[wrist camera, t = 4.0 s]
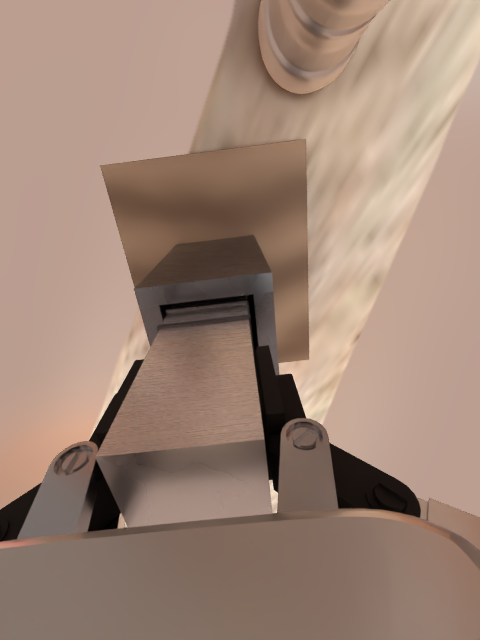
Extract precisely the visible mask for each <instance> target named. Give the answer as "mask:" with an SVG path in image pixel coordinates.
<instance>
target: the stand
mask: <svg viewBox="0 0 480 640" xmlns="http://www.w3.org/2000/svg"><path fill="white" fill-rule="evenodd" d="M100 167H101V170H102V173H103V177H104V181H105V184H106V188H107V192H108V195H109V198H110V202H111V205H112V209H113V213H114V216H115V220H116V223H117V227H118V230H119V234H120V237H121V241H122V244H123V248H124V251H125V255H126V259H127V262H128V265H129V269H130V273H131V276H132V280H133V283H134V287H135V288H134V291H135V294H136V298H137V301H138V305H139V308H140V312H141V315H142V319H143V322H144V326H145V329H146V333H147V336H148V340H149V343H150V347H151V345H152V343H153V341H154V339H155V337H156V335H157V333H158V331H157V326H158V325H162V323H163V321H164V319H165V317H166V315H167V313H166V309H167V308H170V307H171V306H172V304H174V303H183V302H191V301H200V300H208V299H217V298H225V297H234V296H242V295H247V299H248V304H249V313H250V316H251V325H252V334H253V343H254V350H256V347H257V346H266V345H269V348H270V353H271V357H272V361H273V365H274V370H275V374H276V375H279V366H278V363H282V362H291V361H300V360H308V359H309V315H308V247H307V180H306V139H302V140H294V141H286V142H279V143H271V144H263V145H255V146H248V147H240V148H232V149H225V150H217V151H209V152H201V153H194V154H186V155H179V156H171V157H163V158H156V159H147V160H140V161H132V162H124V163H117V164H109V165H101V166H100Z"/></svg>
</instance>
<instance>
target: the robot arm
mask: <svg viewBox="0 0 480 640" xmlns="http://www.w3.org/2000/svg"><path fill="white" fill-rule="evenodd" d="M253 356H254V364H255V372H256V379H257V387H258V394H259V402H260V409H261V417H262V425H263V432H264V440H265V449H266V458H267V468H268V477H269V480H273V487H274V490H275V491H276V492H278V509H277V513H273V514H263V515H252V516H242V517H231V518H220V519H210V520H199V521H189V522H179V523H169V524H159V525H149V526H139V527H129V528H124V526H125V520H124V518H123V516H122V513H121V511H120V509H119V507H118V505H117V503H116V501H115V498H114V496H113V494H112V492H111V490H110V488H109V486H108V483H107V481H106V479H105V477H104V475H103V473H102V471H101V468H100V466H99V464H98V462H97V460H96V458H95V457H96V455H97V453H98V451H99V449H100V447H101V445H102V443H103V441H104V439H105V437H106V435H107V433H108V431H109V429H110V427H111V425H112V423H113V421H114V419H115V417H116V415H117V413H118V411H119V409H120V407H121V405H122V403H123V401H124V399H125V397H126V395H127V393H128V391H129V389H130V387H131V385H132V383H133V381H134V379H135V377H136V375H137V373H138V371H139V369H140V367H141V365H142V363H143V361H144V359H142V360H136V361H135V362H134V364H133V366H132V367H131V369H130V371H129V373H128V375H127V376H126V378H125V380H124V382H123V384H122V386H121V387H120V389H119V391H118V393H117V394H115V396H114V397H113V399H112V401H111V402H110V404H109V406H108V408H107V410H106V411H105V413H104V415H103V417H102V419H101V420H100V422H99V424H98V426H97V428H96V429H95V431H94V433H93V435H92V436H91V438H90V440H89V441H83V442H79V443H76V444H73V445H71V446H69V447H67V448H65V449H64V450H63V451H62V452H60V453H59V454H58V455H57V456H56V457H55V458H54V459H53V461H52V462H51V464H50V466H49V468H48V470H47V472H46V475H45V477H44V479H43V481H42V483H40V484H39V485H37V486H36V487H34V488H33V489H31V490H30V491H28V492H27V493H25V494H23V495H22V496H20V497H19V498H17V499H16V500H14V501H13V502H11V503H10V504H8V505H7V506H5V507H4V508H2V509H1V510H0V640H480V517H477V516H475V515H472V514H470V513H467V512H464V511H461V510H459V509H457V508H454V507H452V506H449V505H446V504H444V503H441V502H439V501H436V500H434V499H431V498H429V500H428V502H427V501H425V500H422V499H420V498H417V497H416V496H415V494H414V493H413V492H412V491H411V490H410V489H409V488H408V487H407V486H406V485H405V484H403V483H402V482H400V481H399V480H397V479H396V478H394V477H392V476H390V475H388V474H386V473H384V472H382V471H381V470H379V469H377V468H375V467H373V466H371V465H370V464H367V463H366V462H364V461H362V460H360V459H358V458H356V457H355V456H353V455H351V454H349V453H347V452H345V451H344V450H342V449H340V448H338V447H336V446H334V445H332V444H331V443H329V438H328V434H327V431H326V429H325V428H324V427H323V426H322V425H321V424H320V423H318V422H317V421H314V420H312V419H307V418H306V416H305V413H304V410H303V407H302V404H301V401H300V398H299V395H298V391H297V388H296V385H295V382H294V379H293V376H292V374H284V375H276V374H275V370H274V365H273V361H272V357H271V353H270V348H269V345H266V346H257V347H256V350H253Z"/></svg>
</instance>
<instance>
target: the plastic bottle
mask: <svg viewBox="0 0 480 640" xmlns="http://www.w3.org/2000/svg"><path fill="white" fill-rule="evenodd" d="M389 1H390V0H262V1H261V4H260V9H259V17H258V36H259V43H260V49H261V55H262V58H263V61H264V64H265V67H266V68H267V70H268V72H269V74H270V76H271V77H272V78H273V80H274V81H275V82H276V83H277V84H278V85H279V86H281V87H282V88H283V89H285V90H287V91H289V92H292V93H296V94H307V93H311V92H314V91H317V90H319V89H321V88H323V87H325V86H327V85H329V84H330V83H331V82H333V81H334V80H335V79H336V78H337V77H338V76H339V75H340V74H341V72H342V71H343V70H344V68H345V67H346V65H347V63H348V62H349V60H350V58H351V56H352V55H353V53H354V51H355V49H356V47H357V44H358V42H359V39H360V37H361V35H362V34H363V32H364V31H365V29H366V28H367V26H368V24H369V23H370V21H371V20H372V19H373V18H374V17H375V15H376V14H377V13H378V12H379V11H380V10H381V9H382V8H383V7H384V6H385V5H386V4H387V3H388V2H389Z"/></svg>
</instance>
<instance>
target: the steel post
mask: <svg viewBox="0 0 480 640" xmlns="http://www.w3.org/2000/svg"><path fill="white" fill-rule="evenodd" d="M166 313H167V315H166V317H165V319H164V321H163V323H162V325H158V326H157V331H158V333H157V335H156V337H155V339H154V341H153V343H152V345H151V347H150V349H149V351H148V353H147V355H146V357H145V359H144V361H143V363H142V365H141V367H140V369H139V371H138V373H137V375H136V377H135V379H134V381H133V383H132V385H131V387H130V389H129V391H128V393H127V395H126V397H125V399H124V401H123V403H122V405H121V407H120V409H119V411H118V413H117V415H116V417H115V419H114V421H113V423H112V425H111V427H110V429H109V431H108V433H107V435H106V437H105V439H104V441H103V443H102V445H101V447H100V449H99V451H98V453H97V455H96V457H95V458H96V460H97V462H98V464H99V466H100V468H101V471H102V473H103V475H104V477H105V479H106V481H107V483H108V486H109V488H110V490H111V492H112V494H113V496H114V498H115V501H116V503H117V505H118V507H119V509H120V511H121V513H122V516H123V518H124V520H125V522H126V524H127V526H128V528H129V527H139V526H149V525H159V524H169V523H179V522H189V521H199V520H210V519H220V518H231V517H242V516H252V515H263V514H272V505H271V495H270V486H269V477H268V468H267V458H266V449H265V440H264V432H263V425H262V417H261V409H260V402H259V394H258V387H257V379H256V372H255V364H254V356H253V350H254V343H253V334H252V325H251V316H250V313H249V304H248V299H247V295H242V296H234V297H225V298H217V299H208V300H200V301H191V302H183V303H174V304H172V306H171V307H170V308H167V309H166Z"/></svg>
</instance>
